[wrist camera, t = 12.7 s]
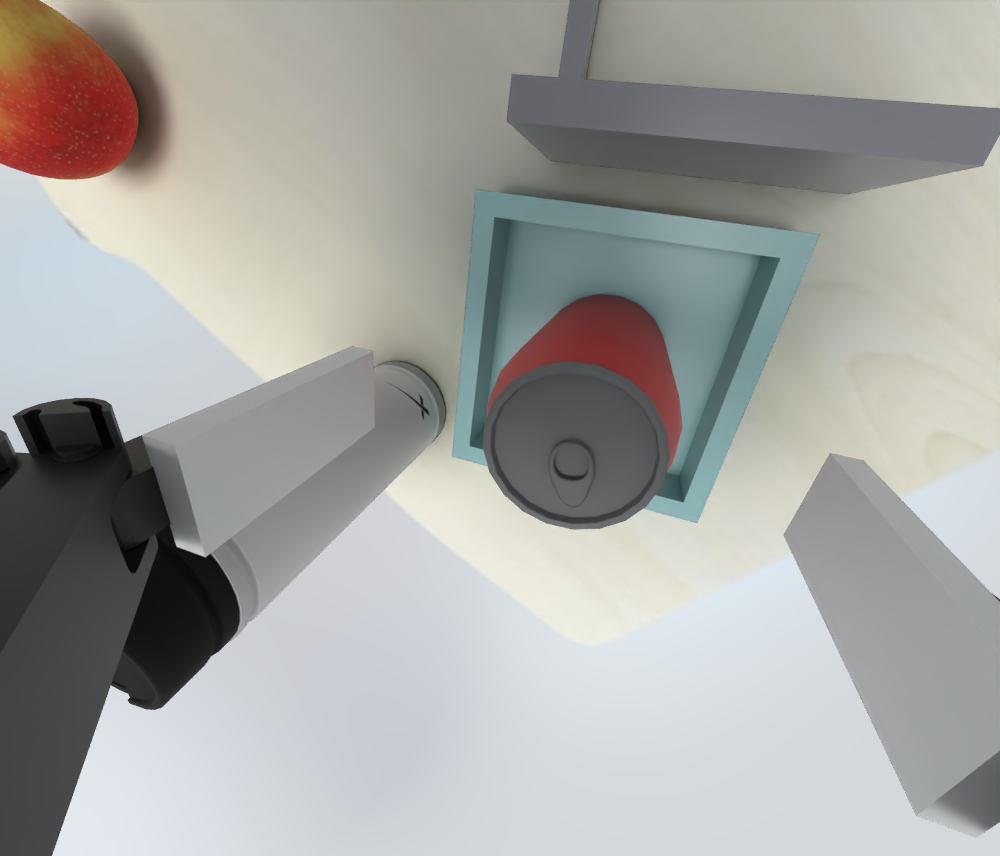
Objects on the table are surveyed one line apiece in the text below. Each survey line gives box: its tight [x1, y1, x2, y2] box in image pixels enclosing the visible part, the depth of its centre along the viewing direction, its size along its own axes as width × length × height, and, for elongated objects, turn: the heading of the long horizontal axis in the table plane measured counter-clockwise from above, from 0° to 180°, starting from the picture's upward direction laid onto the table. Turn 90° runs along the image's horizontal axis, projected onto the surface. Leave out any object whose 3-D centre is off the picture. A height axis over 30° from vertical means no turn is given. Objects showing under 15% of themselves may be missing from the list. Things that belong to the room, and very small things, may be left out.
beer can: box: [483, 294, 683, 529], centre depth 18 cm, size 7×7×12 cm
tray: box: [452, 189, 820, 523], centre depth 22 cm, size 14×14×3 cm
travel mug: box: [111, 361, 445, 710], centre depth 20 cm, size 6×7×20 cm
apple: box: [0, 0, 139, 179], centre depth 22 cm, size 8×8×10 cm
